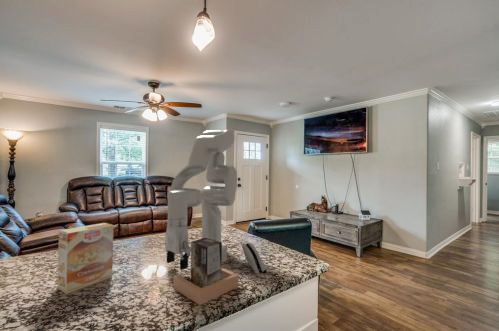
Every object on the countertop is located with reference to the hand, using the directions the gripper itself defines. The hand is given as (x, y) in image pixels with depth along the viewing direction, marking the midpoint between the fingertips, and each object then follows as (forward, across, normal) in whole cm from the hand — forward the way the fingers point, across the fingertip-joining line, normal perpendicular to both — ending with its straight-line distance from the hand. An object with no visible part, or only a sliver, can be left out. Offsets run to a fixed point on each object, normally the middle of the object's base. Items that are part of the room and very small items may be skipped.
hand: (177, 265), depth 97 cm
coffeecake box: (+2, -14, -27) cm, 31 cm away
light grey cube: (+3, +3, +18) cm, 18 cm away
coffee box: (+2, +20, -2) cm, 21 cm away
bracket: (+2, +19, 0) cm, 19 cm away
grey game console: (+3, +18, +25) cm, 31 cm away
